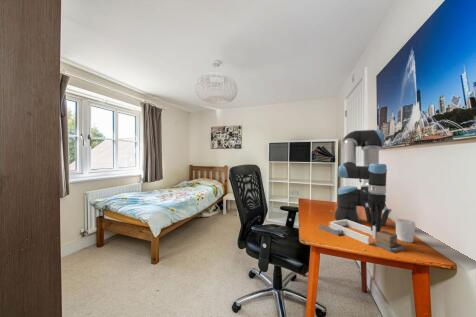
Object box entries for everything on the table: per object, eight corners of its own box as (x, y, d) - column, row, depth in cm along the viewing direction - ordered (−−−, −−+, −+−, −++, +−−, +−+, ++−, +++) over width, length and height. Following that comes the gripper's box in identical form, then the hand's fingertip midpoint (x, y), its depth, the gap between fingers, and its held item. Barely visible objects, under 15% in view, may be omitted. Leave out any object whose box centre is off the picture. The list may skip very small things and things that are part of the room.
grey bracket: (384, 240, 100) (384, 238, 100) (405, 248, 92) (405, 246, 92) (372, 244, 96) (372, 241, 96) (392, 252, 88) (392, 250, 88)
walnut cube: (383, 242, 99) (383, 230, 99) (396, 247, 93) (397, 235, 93) (376, 243, 96) (376, 232, 96) (389, 249, 91) (389, 236, 91)
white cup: (414, 240, 102) (415, 221, 102) (414, 244, 96) (414, 225, 96) (395, 235, 108) (396, 217, 107) (394, 239, 102) (394, 221, 102)
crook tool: (323, 227, 119) (323, 223, 119) (342, 233, 108) (342, 230, 108) (318, 228, 116) (318, 225, 116) (337, 235, 106) (337, 232, 106)
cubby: (346, 224, 123) (346, 219, 123) (386, 239, 101) (387, 233, 101) (328, 227, 117) (328, 222, 117) (367, 244, 95) (368, 237, 95)
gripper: (359, 191, 104) (358, 234, 104) (386, 196, 92) (384, 244, 92) (368, 190, 107) (367, 232, 107) (395, 195, 95) (393, 242, 95)
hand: (375, 238), depth 100 cm, fingers closed
